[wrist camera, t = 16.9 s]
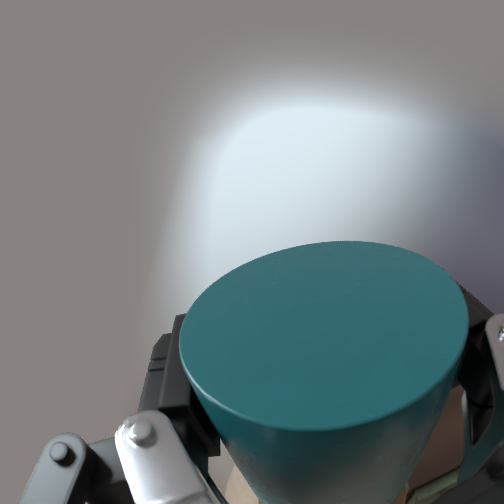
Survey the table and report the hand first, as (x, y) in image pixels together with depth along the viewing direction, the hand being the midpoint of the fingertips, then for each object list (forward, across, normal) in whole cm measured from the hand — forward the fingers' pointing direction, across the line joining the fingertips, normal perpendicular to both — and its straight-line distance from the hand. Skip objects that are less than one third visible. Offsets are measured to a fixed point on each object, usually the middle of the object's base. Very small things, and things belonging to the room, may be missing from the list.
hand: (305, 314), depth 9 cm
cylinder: (-2, 0, +10) cm, 10 cm away
